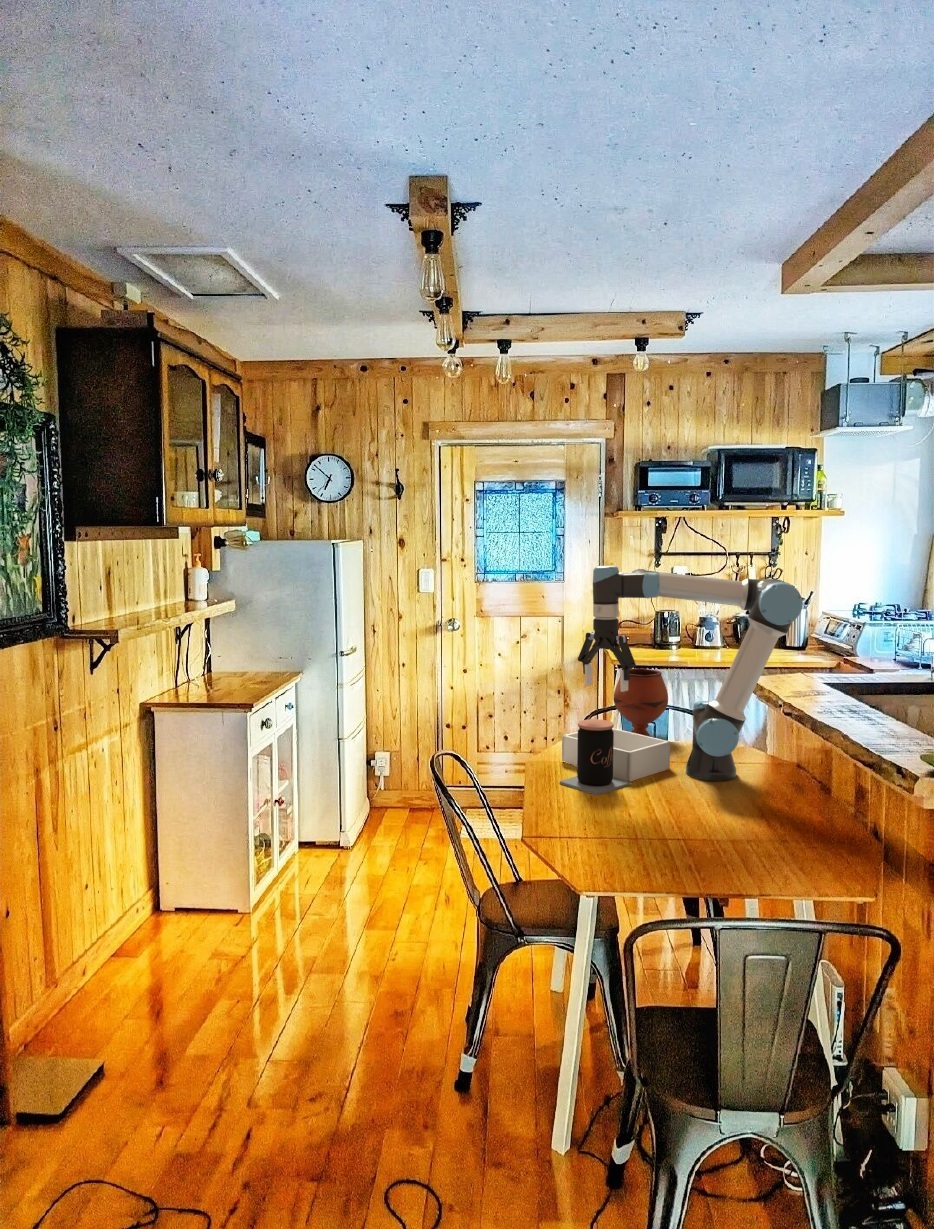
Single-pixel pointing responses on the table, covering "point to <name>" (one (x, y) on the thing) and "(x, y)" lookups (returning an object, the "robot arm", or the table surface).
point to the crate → (627, 754)
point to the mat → (595, 790)
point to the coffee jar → (595, 752)
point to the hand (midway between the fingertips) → (606, 688)
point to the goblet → (642, 699)
